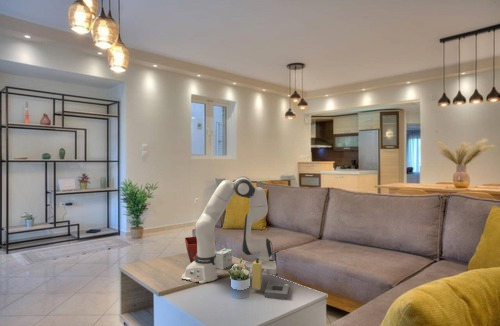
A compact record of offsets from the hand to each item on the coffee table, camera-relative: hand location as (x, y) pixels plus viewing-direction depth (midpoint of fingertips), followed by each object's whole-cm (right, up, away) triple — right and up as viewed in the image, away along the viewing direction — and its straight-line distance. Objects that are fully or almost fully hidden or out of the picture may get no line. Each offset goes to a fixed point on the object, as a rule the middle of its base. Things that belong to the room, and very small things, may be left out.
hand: (256, 273), depth 176 cm
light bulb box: (-21, -9, +39) cm, 46 cm away
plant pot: (-39, -9, +45) cm, 60 cm away
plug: (0, -8, +1) cm, 8 cm away
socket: (+11, -11, -1) cm, 15 cm away
